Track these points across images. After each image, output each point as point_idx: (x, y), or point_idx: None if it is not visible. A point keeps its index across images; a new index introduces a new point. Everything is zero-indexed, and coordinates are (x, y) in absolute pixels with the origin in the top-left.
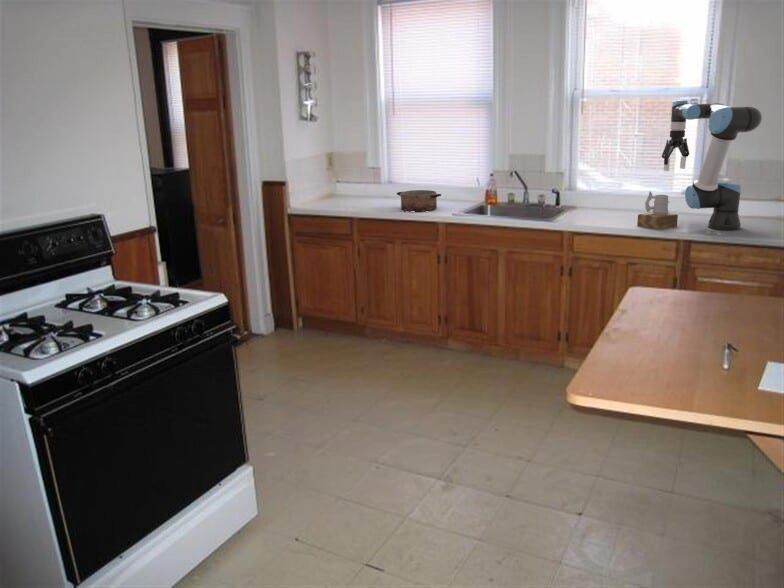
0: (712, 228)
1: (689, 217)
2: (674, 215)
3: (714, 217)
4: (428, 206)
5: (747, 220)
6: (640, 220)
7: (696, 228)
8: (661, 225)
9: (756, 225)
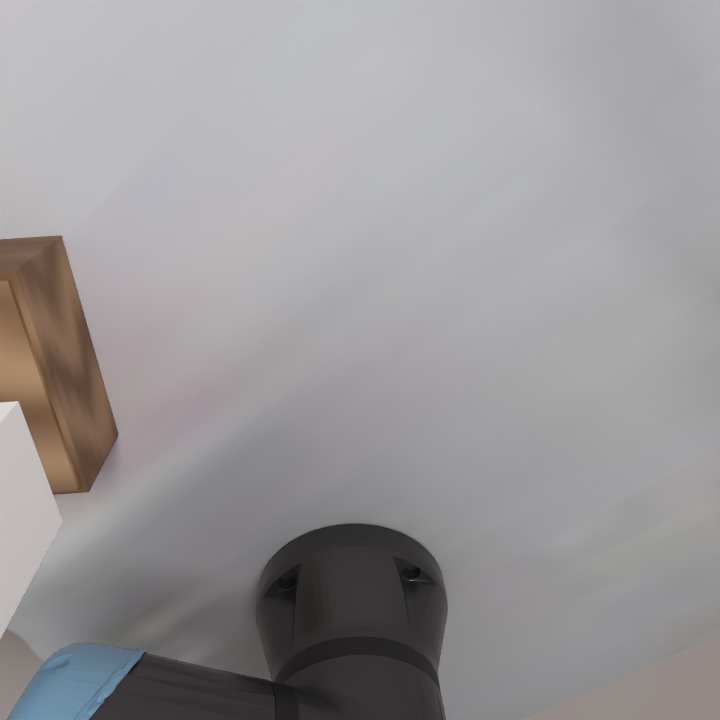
0: (258, 589)
1: (512, 239)
2: None
3: (268, 644)
4: None
5: (678, 531)
6: None
7: (186, 536)
8: None
9: (551, 633)
